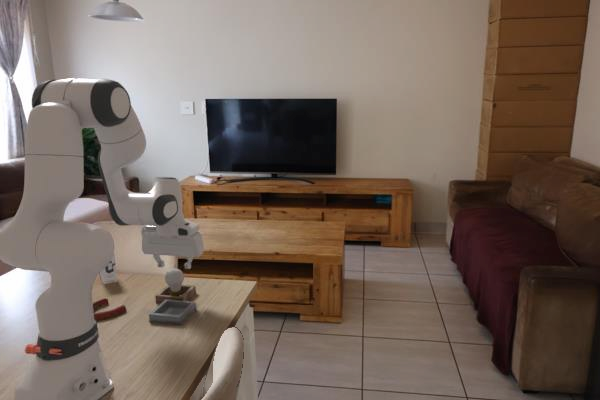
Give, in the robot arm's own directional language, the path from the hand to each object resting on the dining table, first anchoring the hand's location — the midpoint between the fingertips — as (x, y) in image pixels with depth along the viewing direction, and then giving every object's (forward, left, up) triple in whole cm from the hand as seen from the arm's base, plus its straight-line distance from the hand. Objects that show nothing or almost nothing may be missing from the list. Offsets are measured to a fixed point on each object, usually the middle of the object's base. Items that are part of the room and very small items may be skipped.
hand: (174, 267), depth 148 cm
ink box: (+9, +32, -11) cm, 35 cm away
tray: (-12, -5, -10) cm, 17 cm away
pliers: (-17, +20, -11) cm, 29 cm away
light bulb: (0, 0, -11) cm, 11 cm away
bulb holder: (0, 0, -10) cm, 10 cm away
